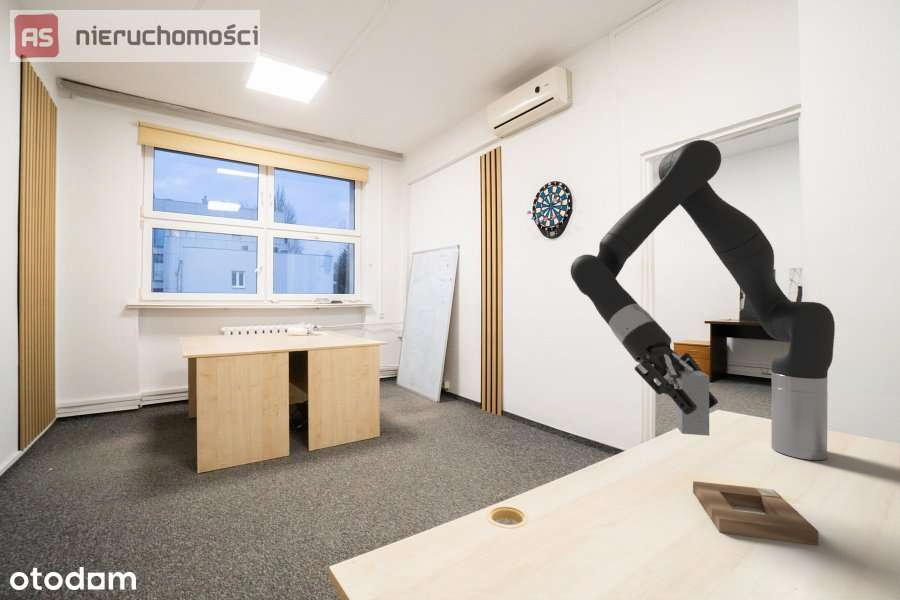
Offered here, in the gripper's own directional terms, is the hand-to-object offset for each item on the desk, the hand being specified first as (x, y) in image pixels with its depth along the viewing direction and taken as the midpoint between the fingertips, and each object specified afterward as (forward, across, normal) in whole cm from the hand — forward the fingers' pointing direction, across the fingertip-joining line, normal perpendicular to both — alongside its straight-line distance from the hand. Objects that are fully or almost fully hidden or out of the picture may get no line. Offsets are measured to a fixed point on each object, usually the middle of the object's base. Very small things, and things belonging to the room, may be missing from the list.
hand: (702, 408), depth 66 cm
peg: (+2, 0, +4) cm, 5 cm away
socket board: (+15, +2, +7) cm, 17 cm away
